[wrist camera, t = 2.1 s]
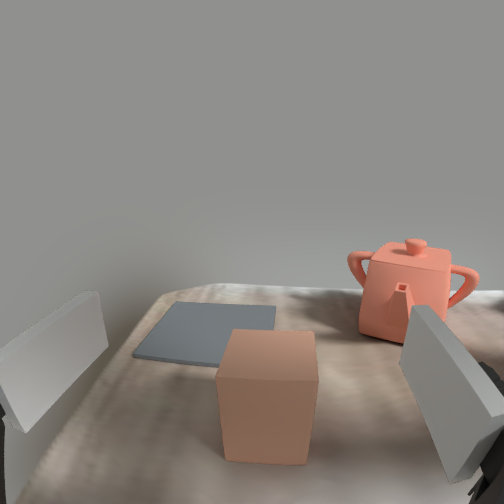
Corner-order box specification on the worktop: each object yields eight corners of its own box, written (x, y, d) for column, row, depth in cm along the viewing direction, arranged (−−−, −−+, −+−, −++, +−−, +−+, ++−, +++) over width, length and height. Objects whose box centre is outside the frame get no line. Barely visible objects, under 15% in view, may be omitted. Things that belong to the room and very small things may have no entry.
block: (305, 413, 29) (313, 331, 26) (306, 465, 22) (318, 380, 20) (237, 410, 30) (233, 328, 27) (225, 460, 23) (215, 376, 20)
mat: (276, 308, 54) (276, 305, 54) (267, 370, 36) (267, 366, 36) (176, 304, 56) (176, 301, 56) (133, 357, 39) (132, 353, 39)
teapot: (357, 296, 58) (362, 224, 54) (466, 317, 45) (480, 240, 41) (311, 344, 42) (316, 247, 39) (462, 381, 30) (492, 274, 26)
